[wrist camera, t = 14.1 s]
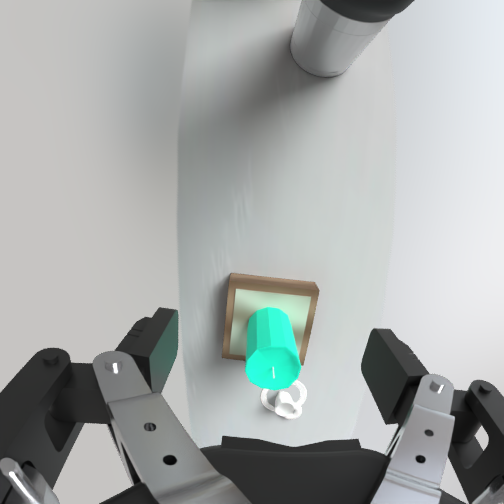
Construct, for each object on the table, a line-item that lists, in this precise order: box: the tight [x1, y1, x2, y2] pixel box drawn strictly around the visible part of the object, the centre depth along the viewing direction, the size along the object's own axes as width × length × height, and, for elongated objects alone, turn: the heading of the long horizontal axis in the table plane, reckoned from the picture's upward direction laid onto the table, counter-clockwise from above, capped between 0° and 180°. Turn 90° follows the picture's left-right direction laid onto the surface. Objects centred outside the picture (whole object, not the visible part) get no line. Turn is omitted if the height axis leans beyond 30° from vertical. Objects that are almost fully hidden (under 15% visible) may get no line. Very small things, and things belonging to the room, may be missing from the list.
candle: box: [245, 307, 301, 390], centre depth 35 cm, size 6×6×12 cm
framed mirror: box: [222, 273, 319, 365], centre depth 43 cm, size 12×12×4 cm
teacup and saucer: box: [261, 380, 307, 420], centre depth 47 cm, size 9×8×4 cm
